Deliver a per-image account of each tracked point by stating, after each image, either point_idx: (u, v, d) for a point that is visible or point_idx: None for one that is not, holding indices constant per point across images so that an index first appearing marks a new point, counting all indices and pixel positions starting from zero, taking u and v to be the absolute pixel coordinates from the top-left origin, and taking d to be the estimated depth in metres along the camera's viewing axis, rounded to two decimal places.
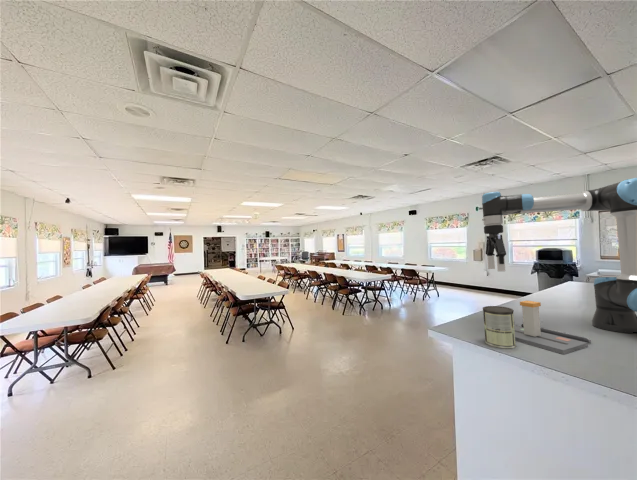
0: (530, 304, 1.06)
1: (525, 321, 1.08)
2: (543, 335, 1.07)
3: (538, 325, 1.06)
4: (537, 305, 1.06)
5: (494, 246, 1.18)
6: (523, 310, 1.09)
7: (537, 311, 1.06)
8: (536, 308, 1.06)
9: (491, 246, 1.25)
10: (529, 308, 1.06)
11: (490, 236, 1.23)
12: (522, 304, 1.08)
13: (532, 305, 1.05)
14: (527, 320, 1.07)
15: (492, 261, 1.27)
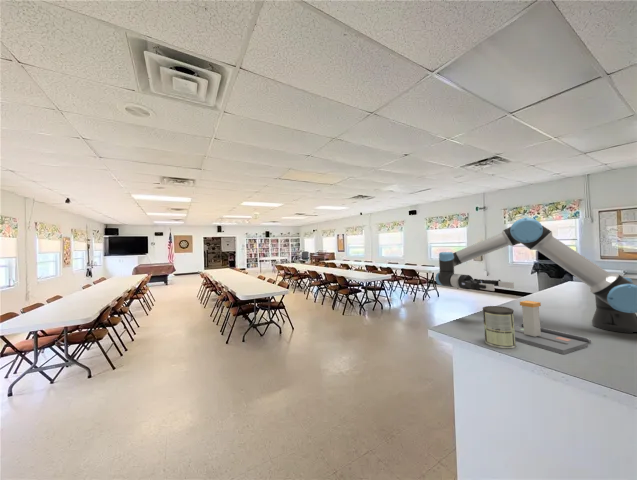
0: (530, 304, 1.06)
1: (525, 321, 1.08)
2: (543, 335, 1.07)
3: (538, 325, 1.06)
4: (537, 305, 1.06)
5: None
6: (523, 310, 1.09)
7: (537, 311, 1.06)
8: (536, 308, 1.06)
9: (485, 283, 1.29)
10: (529, 308, 1.06)
11: None
12: (522, 304, 1.08)
13: (532, 305, 1.05)
14: (527, 320, 1.07)
15: (504, 283, 1.24)
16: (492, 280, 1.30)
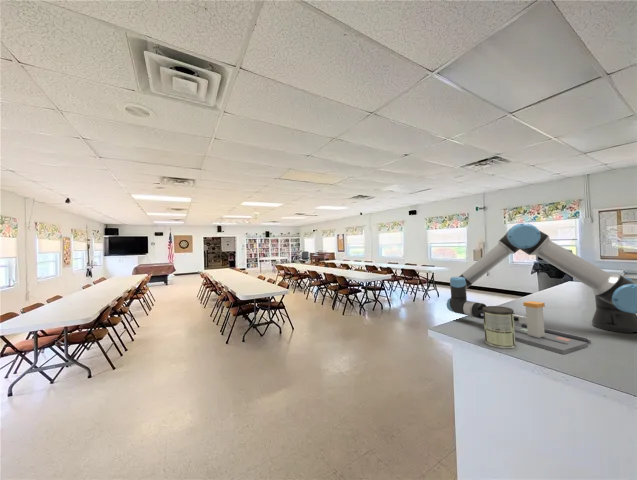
0: (534, 305, 1.04)
1: (529, 321, 1.07)
2: None
3: (542, 326, 1.05)
4: (541, 306, 1.04)
5: None
6: (527, 311, 1.07)
7: (541, 312, 1.05)
8: (540, 309, 1.05)
9: None
10: (533, 309, 1.05)
11: None
12: (526, 305, 1.07)
13: (536, 306, 1.04)
14: (531, 321, 1.06)
15: None
16: None
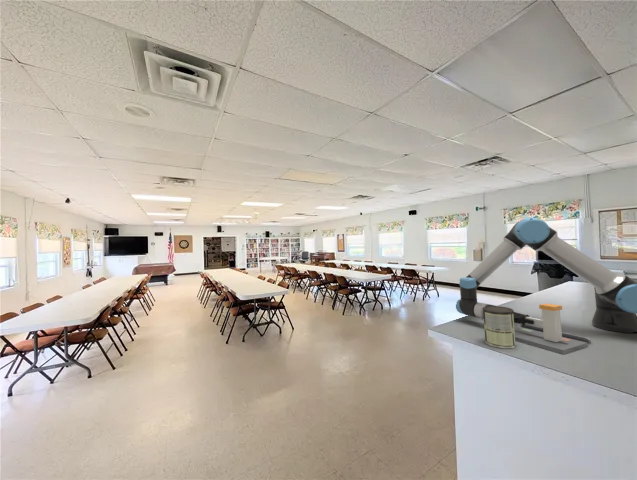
0: (551, 307, 0.99)
1: (545, 325, 1.01)
2: (543, 335, 1.07)
3: (560, 330, 1.00)
4: (558, 308, 0.99)
5: None
6: (543, 314, 1.02)
7: (558, 315, 1.00)
8: (557, 312, 1.00)
9: None
10: (550, 312, 1.00)
11: None
12: (542, 307, 1.02)
13: (553, 308, 0.98)
14: (548, 324, 1.00)
15: None
16: (520, 314, 1.14)
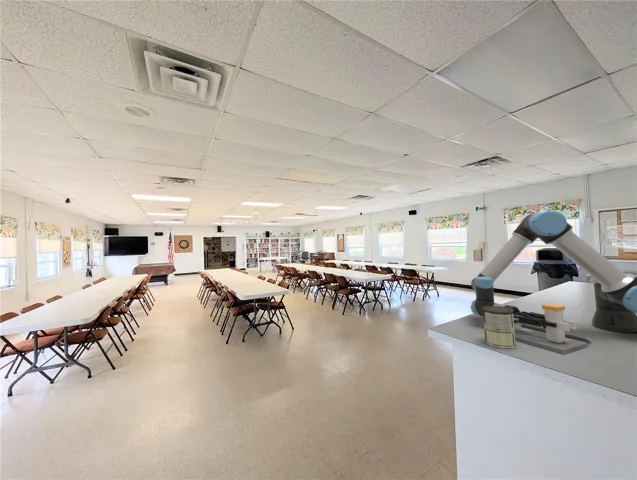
0: (554, 308, 0.98)
1: None
2: (543, 335, 1.07)
3: (563, 331, 0.99)
4: (561, 309, 0.98)
5: None
6: (546, 314, 1.01)
7: (561, 315, 0.99)
8: (560, 312, 0.99)
9: None
10: (552, 312, 0.99)
11: None
12: (545, 308, 1.01)
13: (556, 309, 0.98)
14: None
15: None
16: None
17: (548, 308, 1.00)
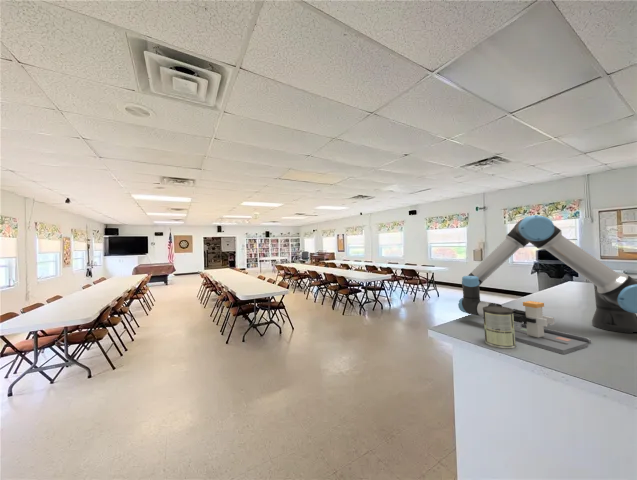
0: (533, 305, 1.05)
1: None
2: None
3: (542, 326, 1.05)
4: (540, 306, 1.05)
5: None
6: (526, 311, 1.07)
7: (540, 312, 1.05)
8: (539, 309, 1.05)
9: None
10: (532, 309, 1.05)
11: None
12: (525, 305, 1.07)
13: (535, 306, 1.04)
14: None
15: None
16: None
17: (528, 305, 1.06)
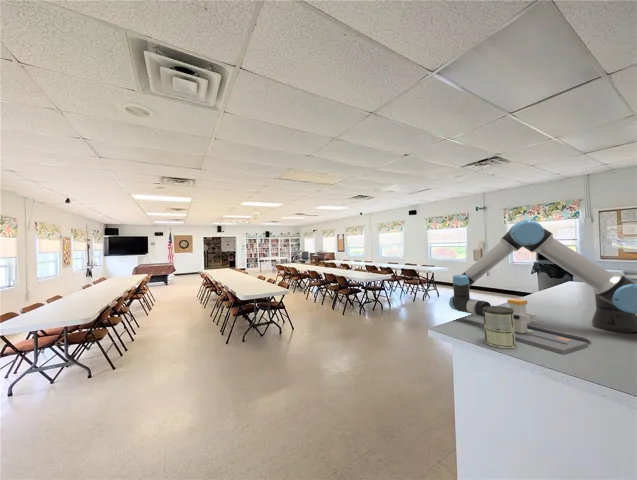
0: (517, 302, 1.10)
1: None
2: (543, 335, 1.07)
3: (525, 322, 1.11)
4: (524, 303, 1.10)
5: None
6: (511, 308, 1.13)
7: (524, 309, 1.11)
8: (523, 306, 1.11)
9: None
10: (516, 306, 1.11)
11: None
12: (510, 302, 1.13)
13: (519, 303, 1.10)
14: None
15: None
16: None
17: (512, 302, 1.12)
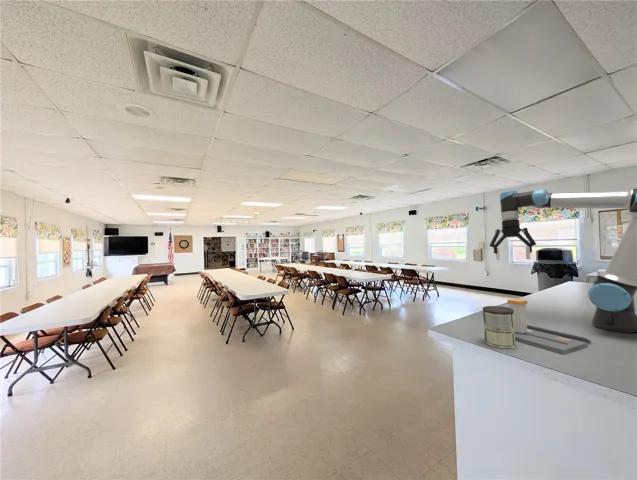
0: (517, 302, 1.10)
1: None
2: (543, 335, 1.07)
3: (525, 322, 1.11)
4: (524, 303, 1.10)
5: None
6: (511, 308, 1.13)
7: (524, 309, 1.11)
8: (523, 306, 1.11)
9: (519, 238, 1.36)
10: (516, 306, 1.11)
11: None
12: (510, 302, 1.13)
13: (519, 303, 1.10)
14: (515, 317, 1.12)
15: (527, 252, 1.34)
16: (530, 239, 1.33)
17: (512, 302, 1.12)
